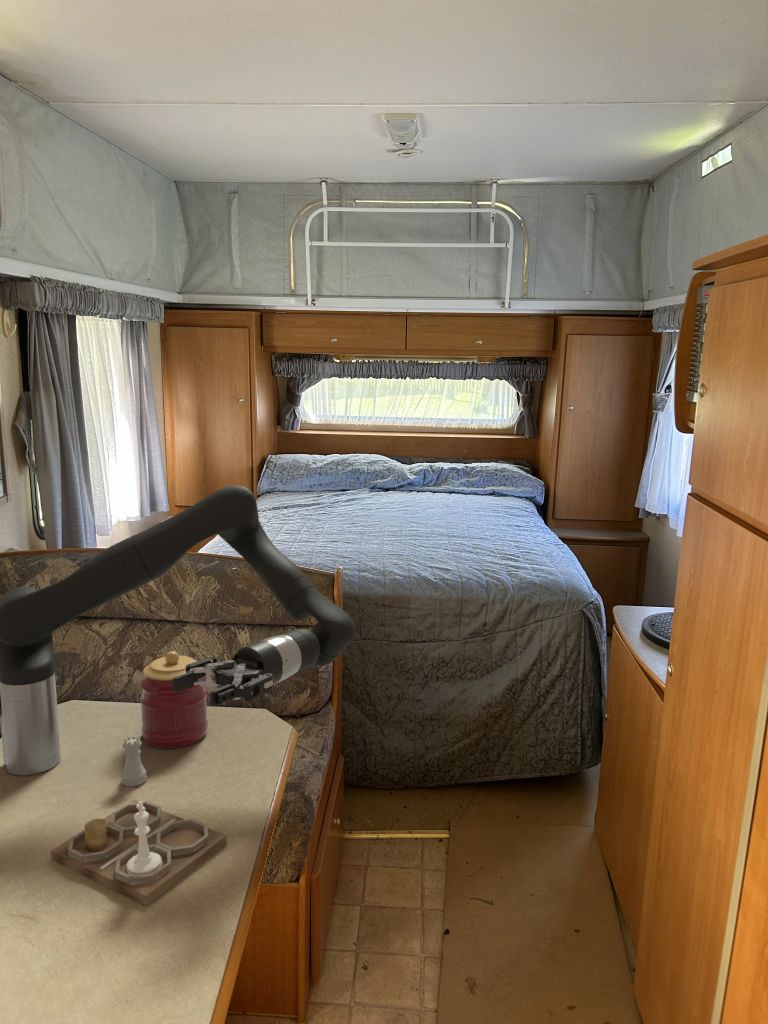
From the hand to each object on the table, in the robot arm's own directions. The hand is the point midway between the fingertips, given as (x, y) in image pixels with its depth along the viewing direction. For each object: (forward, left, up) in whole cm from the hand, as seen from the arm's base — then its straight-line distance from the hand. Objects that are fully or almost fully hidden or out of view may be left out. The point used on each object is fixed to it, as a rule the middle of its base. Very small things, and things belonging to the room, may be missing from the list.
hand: (192, 692), depth 111 cm
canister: (-30, +25, -25) cm, 46 cm away
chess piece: (-1, -10, -23) cm, 25 cm away
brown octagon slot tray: (-6, -6, -24) cm, 26 cm away
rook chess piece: (-23, +8, -25) cm, 35 cm away
